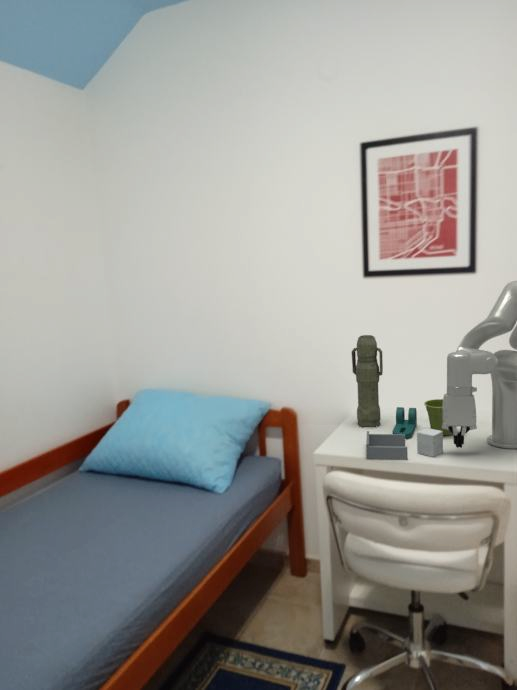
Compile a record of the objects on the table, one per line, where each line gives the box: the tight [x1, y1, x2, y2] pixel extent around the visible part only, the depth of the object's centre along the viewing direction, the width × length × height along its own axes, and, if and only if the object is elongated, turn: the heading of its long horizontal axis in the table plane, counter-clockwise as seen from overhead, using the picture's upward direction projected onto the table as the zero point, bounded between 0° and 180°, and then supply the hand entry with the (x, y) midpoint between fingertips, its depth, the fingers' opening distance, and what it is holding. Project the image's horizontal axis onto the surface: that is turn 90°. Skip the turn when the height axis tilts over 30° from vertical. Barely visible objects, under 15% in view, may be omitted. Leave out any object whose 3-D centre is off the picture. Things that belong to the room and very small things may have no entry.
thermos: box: [351, 334, 384, 428], centre depth 209 cm, size 9×12×35 cm
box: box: [365, 430, 409, 461], centre depth 180 cm, size 13×14×5 cm
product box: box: [416, 427, 444, 458], centre depth 177 cm, size 6×6×7 cm
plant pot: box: [423, 398, 453, 437], centre depth 196 cm, size 12×12×11 cm
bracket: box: [391, 406, 418, 440], centre depth 200 cm, size 18×7×8 cm, turn 157°
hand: (458, 446), depth 175 cm, fingers closed
